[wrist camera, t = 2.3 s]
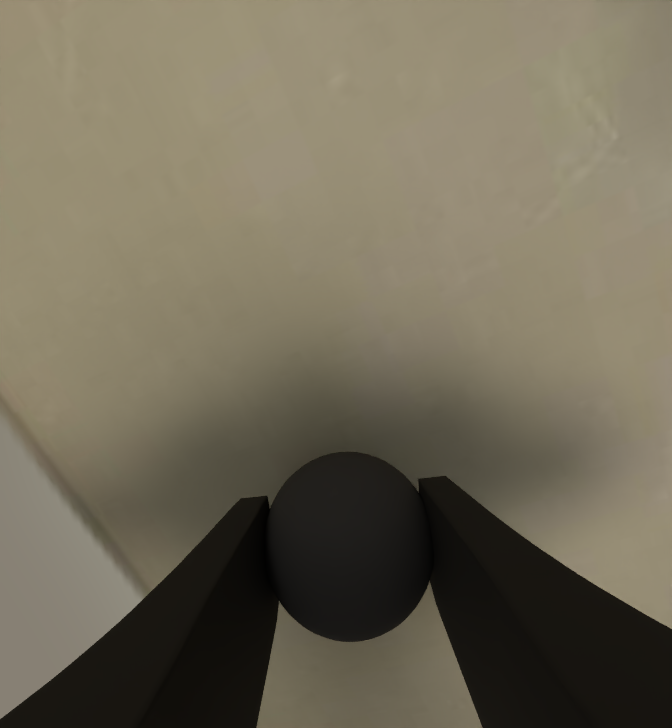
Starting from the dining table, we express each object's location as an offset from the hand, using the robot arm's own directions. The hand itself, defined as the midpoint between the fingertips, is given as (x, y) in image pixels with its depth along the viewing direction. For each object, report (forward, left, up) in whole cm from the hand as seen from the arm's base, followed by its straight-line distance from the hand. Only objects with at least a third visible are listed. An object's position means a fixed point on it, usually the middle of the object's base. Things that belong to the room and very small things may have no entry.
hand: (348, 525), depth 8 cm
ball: (0, 0, 0) cm, 0 cm away
